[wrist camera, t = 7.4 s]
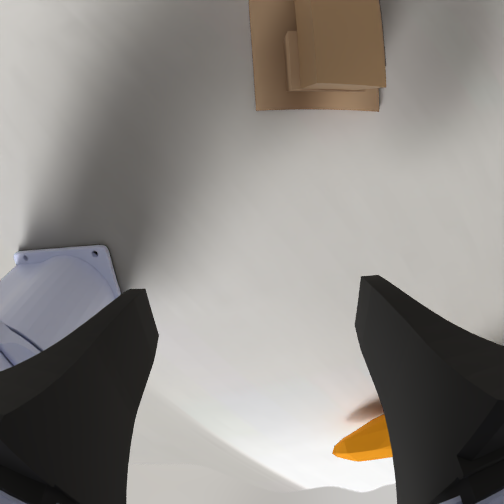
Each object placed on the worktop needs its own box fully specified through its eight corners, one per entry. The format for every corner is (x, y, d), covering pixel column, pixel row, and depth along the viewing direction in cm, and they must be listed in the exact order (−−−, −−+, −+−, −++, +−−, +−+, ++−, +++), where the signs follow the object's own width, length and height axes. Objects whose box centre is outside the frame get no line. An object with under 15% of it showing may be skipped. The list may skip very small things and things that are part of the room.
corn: (508, 430, 21) (341, 497, 24) (483, 388, 28) (333, 444, 31) (526, 391, 19) (332, 472, 22) (492, 346, 26) (322, 410, 29)
